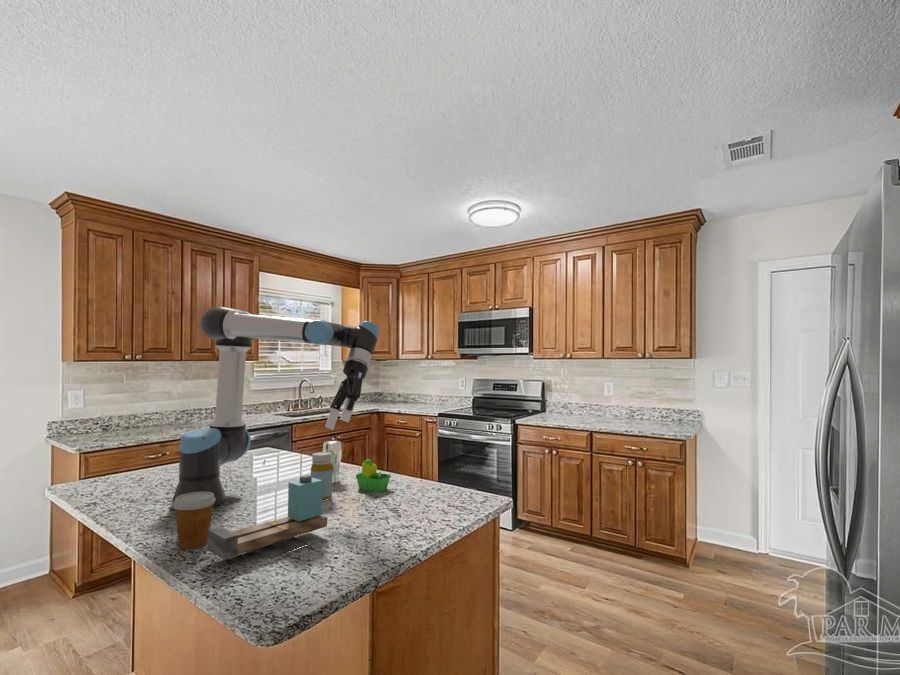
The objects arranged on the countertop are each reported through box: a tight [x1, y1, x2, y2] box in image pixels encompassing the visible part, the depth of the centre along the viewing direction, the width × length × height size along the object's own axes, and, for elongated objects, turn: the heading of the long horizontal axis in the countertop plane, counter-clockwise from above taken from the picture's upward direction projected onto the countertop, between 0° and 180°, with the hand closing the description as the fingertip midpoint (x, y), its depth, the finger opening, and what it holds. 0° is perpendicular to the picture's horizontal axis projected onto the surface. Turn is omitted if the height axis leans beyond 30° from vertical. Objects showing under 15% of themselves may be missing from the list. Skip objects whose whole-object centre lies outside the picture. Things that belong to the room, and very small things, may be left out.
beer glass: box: [322, 440, 342, 483], centre depth 180 cm, size 7×7×15 cm
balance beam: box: [206, 514, 328, 561], centre depth 116 cm, size 27×12×7 cm, turn 140°
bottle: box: [310, 451, 333, 501], centre depth 158 cm, size 7×7×15 cm
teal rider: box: [287, 474, 323, 521], centre depth 123 cm, size 7×5×12 cm
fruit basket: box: [355, 458, 392, 493], centre depth 169 cm, size 11×9×11 cm
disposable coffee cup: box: [173, 492, 216, 550], centre depth 118 cm, size 10×10×12 cm
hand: (336, 424), depth 144 cm, fingers open, 13 cm apart
